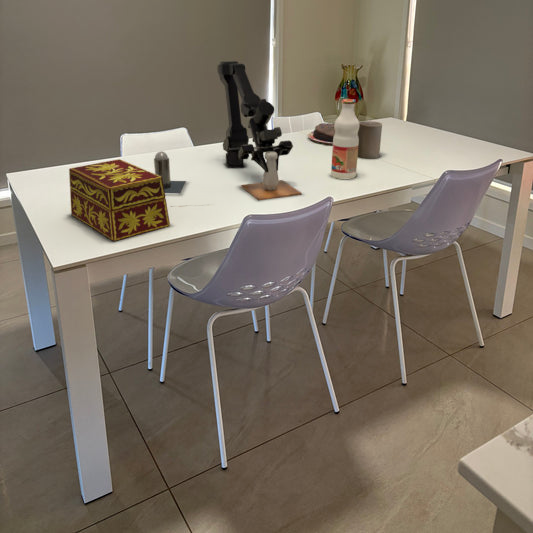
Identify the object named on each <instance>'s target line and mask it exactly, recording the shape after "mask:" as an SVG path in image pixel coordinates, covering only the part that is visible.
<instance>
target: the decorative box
mask: <svg viewBox="0 0 533 533" xmlns="http://www.w3.org/2000/svg"><path fill="white" fill-rule="evenodd" d="M68 174H69V178H68V179H69V195H70V196H69V197H70V198H69V199H70V213H71V214H70V215H72V216H73V217H74V218H76V219H77V220H79V221H81V222H82V223H84V224H86V225H87V226H89V227H90V228H92V229H94V230H95V231H97V232H98V233H100V234H102V235H103V236H104V237H106V238H107V239H110V240H111V241H113V242H115V241H119V240H123V239H127V238H130V237H134V236H138V235H142V234H145V233H149V232H153V231H156V230H159V229H164V228H166V227H170V226H171V223H170V216H169V210H168V203H167V198H166V193H165V191H164V185H163V179H162V177H161V176H158V175H156V174H155V172H152V171H150V170H147V169H144V168H142V167H140V166H137V165H134V164H132V163H130V162H127V161H126V160H122V159H119V158H117V159H113V160H108V161H102V162H96V163H92V164H86V165H82V166H81V165H79V166H75V167H71V168H69V169H68Z"/></svg>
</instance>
